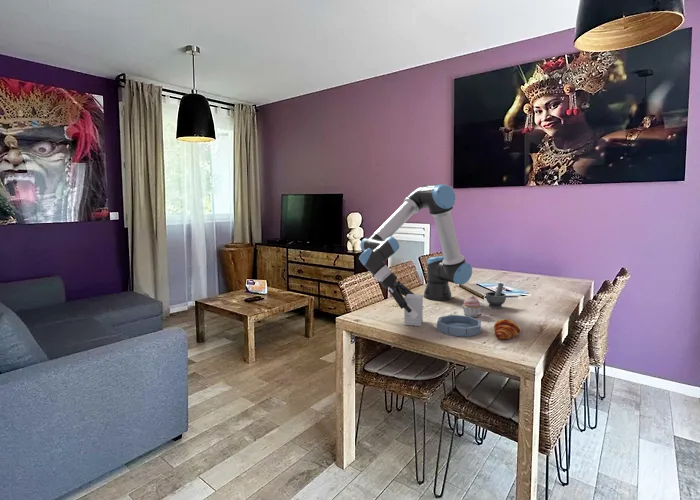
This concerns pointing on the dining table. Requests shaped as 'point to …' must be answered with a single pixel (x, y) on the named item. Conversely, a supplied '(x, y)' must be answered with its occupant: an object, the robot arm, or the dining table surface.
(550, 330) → the dining table surface
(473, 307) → the cupcake
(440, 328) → the octagonal dish
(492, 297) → the mortar and pestle
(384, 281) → the robot arm
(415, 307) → the supplement box
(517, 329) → the croissant
